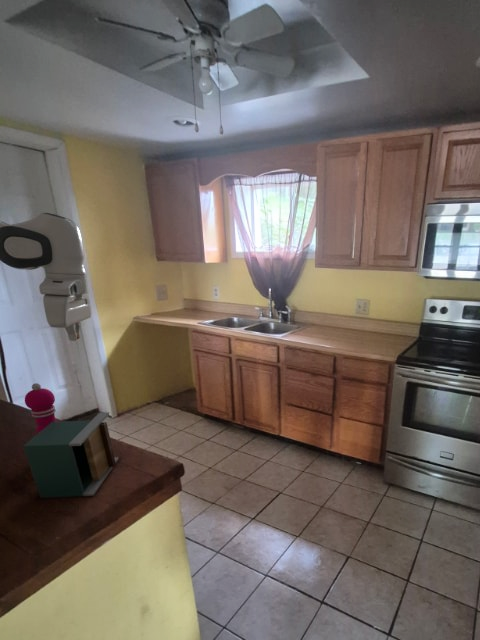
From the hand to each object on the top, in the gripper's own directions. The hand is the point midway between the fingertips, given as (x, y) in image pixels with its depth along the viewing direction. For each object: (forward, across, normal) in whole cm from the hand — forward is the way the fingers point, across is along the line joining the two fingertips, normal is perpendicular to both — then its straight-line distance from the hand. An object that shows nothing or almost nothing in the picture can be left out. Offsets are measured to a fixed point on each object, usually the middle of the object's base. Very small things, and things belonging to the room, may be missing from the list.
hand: (74, 339), depth 98 cm
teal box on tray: (+28, +23, +6) cm, 37 cm away
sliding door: (+27, +24, +11) cm, 37 cm away
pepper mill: (+28, +12, -4) cm, 31 cm away
